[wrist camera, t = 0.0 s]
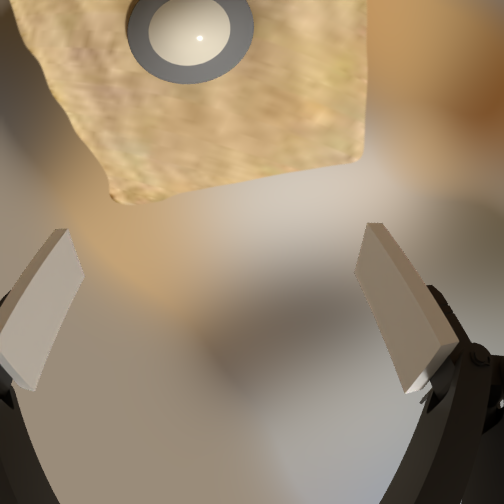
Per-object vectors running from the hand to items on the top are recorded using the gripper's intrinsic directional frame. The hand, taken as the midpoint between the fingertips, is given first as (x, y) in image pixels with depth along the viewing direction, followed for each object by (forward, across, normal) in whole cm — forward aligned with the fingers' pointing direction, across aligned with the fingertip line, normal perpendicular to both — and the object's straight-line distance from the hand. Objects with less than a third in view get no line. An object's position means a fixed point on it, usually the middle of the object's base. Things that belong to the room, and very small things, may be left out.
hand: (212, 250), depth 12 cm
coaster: (+25, -4, +12) cm, 28 cm away
